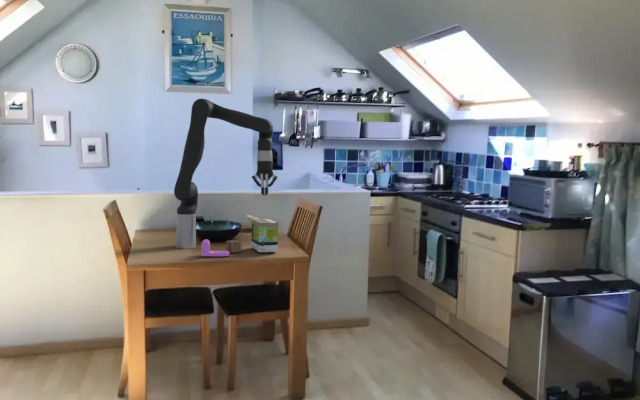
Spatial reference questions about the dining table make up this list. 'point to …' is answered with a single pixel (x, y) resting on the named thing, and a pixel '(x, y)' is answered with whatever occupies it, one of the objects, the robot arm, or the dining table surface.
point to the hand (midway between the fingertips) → (264, 195)
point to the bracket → (206, 251)
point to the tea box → (264, 235)
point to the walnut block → (233, 246)
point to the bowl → (251, 220)
